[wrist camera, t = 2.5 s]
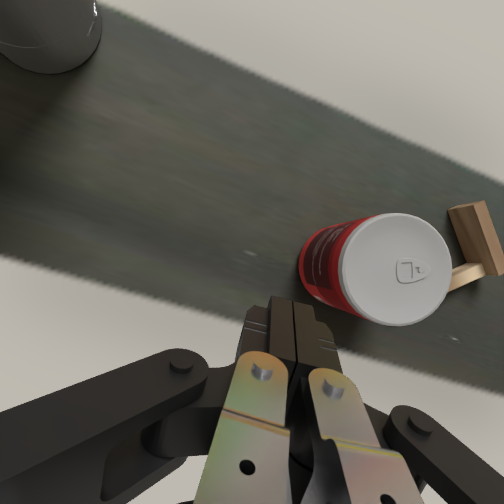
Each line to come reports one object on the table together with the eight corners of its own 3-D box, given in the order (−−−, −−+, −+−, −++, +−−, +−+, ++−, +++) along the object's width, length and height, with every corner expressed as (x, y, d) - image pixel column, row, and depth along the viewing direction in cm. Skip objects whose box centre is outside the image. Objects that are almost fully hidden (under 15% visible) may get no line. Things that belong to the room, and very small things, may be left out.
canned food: (383, 290, 35) (466, 306, 24) (308, 315, 34) (360, 344, 23) (362, 215, 35) (436, 197, 24) (286, 238, 34) (327, 230, 23)
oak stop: (390, 309, 35) (411, 315, 32) (365, 243, 35) (383, 242, 31) (480, 269, 37) (509, 270, 33) (457, 205, 36) (484, 200, 33)
